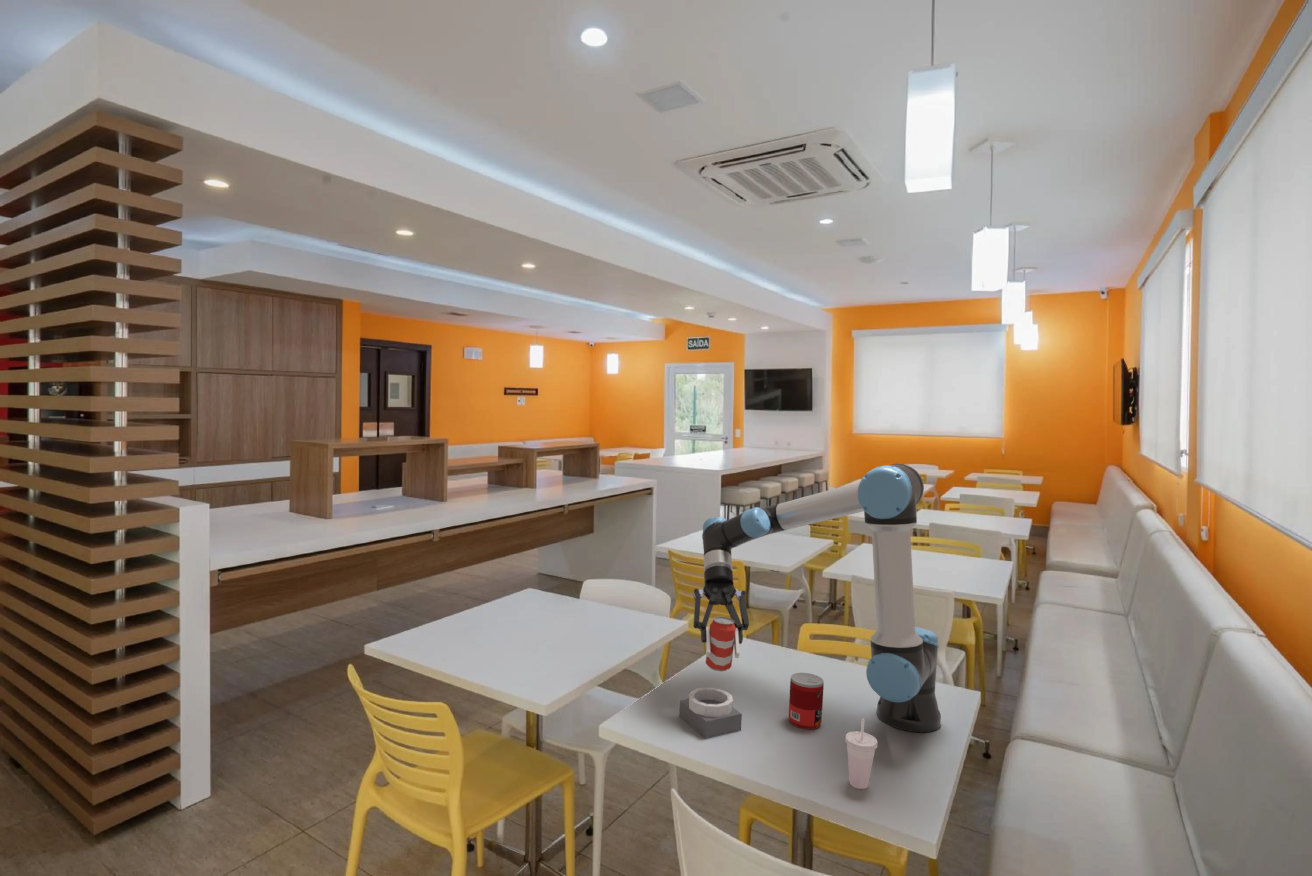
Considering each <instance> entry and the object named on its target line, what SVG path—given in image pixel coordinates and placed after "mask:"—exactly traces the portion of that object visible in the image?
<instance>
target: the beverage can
mask: <svg viewBox="0 0 1312 876" xmlns="http://www.w3.org/2000/svg"><path fill="white" fill-rule="evenodd" d="M709 630H710V656H709V657H706V656H705V657H706V658H705V664H706V665H707V667H709V668H710V669H711V670H713V671H715V672H716V671H717V672H726V671H727V670H730V668H732V663H733V657H734V640H735V632H736V627H735V625H734V621H733V620H732V619H731V617H730V618H729V617H726V616H714V617H713V618H712V622H711V623H710V625H709Z"/></svg>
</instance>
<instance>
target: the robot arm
mask: <svg viewBox="0 0 1312 876" xmlns="http://www.w3.org/2000/svg"><path fill="white" fill-rule="evenodd" d="M924 489H925V485H924V481H923V479H922V476H921V475H920V473H919V472H918V471H917V470H916V469H915V468H913V467H912V466H910V465H907V464H903V463H894V464H888V465H887V464H886V465H879V466H877V467H874V468H873V469H871V470H869V471H868V472H867V473H865V474H864V476H863V477H862V478H861V480H860V481H857V482H854V483H851V484H850V483H849V484H846V485H843V486H839V487H836V488H831V489H829V490H825V491H822V492H821V491H820V492H818V493H814V494H810V495H807V496H804V497H800V498H797V499H792V500H788V501H784V502H780V503H778V504H773V505H769V506H765V507H758V506H757V507H756V506H755V507H752V508H750V509H747V510H744V511H743V512H741V513H739V514H737V515H735V516H733V517H731V518H729V519H727V518H724V517H721V516H715V517H709V518H708V519H706V520H705V521H704V522H703V525H702V535H701V538H702V546H703V547H702V548H703V569H704V570H703V571H704V573H703V575H704V579H703V582H704V586H703V588H701V589H698V588H694V589H693V594H692V595H693V599H694V613H693V628H694V629H698V630H700V641H701V643H705V657H709V656H710V626H708V624H709V623H708V622H709V619H710V616H711V612H712V611H713V608H714V606H719V605H721V606H725V609H726V610H727V612H728V614H729V617H730V619H732V620H733V621H734V625H735V627H736V632H735V640H734V648H733V650H734V658H735V659H739V657H740V652H741V651H740V645H742V643H743V640H744V636H743V631H747V630H748V629H749V628H750V627H749V626H750V621H749V614H748V609H747V603H746V597H747V592H746V590H743V589H742V590H741V591H740V590H737V589H736V587H735V585H734V575H733V560H732V559H733V558H732V549H734V548H737V547H739V546H741V545H743V544H746V543H748V542H751V541H752V540H753V541H754V540H756V539H759V538H762V537H765V536H768V535H772V534H776V533H780V532H785V531H788V530H791V529H795V528H801V527H804V526H808V525H812V524H818V523H821V522H825V521H828V520H834V519H837V518H842V517H847V516H849V515H850V516H851V515H853V514H859V513H863V512H864V513H863V514H864V515H863V516H864V517H863V518H864V524H865V526H867V527H868V528H869V529H870V530H871V534H872V536H871V538H872V539H871V540H872V541H871V542H872V543H871V544H872V557H873V558H872V559H873V561H872V562H873V578H874V579H873V581H874V583H873V584H874V600H875V601H874V602H875V603H874V604H875V623H876V631H875V632H873V633H872V635H871V636H870V653H871V655H870V659H869V660H868V662H867V666H866V673H865V674H866V679H867V683H868V685H869V686H870V688H871V689H872V690H873V692H875V693H876V694H877V695H878V696H879V699H878V701H877V706H876V714H877V717H878V718H879V719H880V720H881V721H882V722H884V723H886V724H888V725H889V726H892V727H894V728H897V729H900V730H902V731H903V730H904V731H908V732H913V733H914V732H915V733H928V732H934V731H936V730H938V729H939V728H940V727H941V720H942V715H941V712H940V710H939V704H938V700H937V697H936V679H937V664H938V650H939V648H940V647H939V646H940V645H939V636H938V635H937V634H936V633H935V632H933V631H931V630H929V629H926V628H923V627H918V626H916V621H915V620H916V617H915V599H914V581H913V576H914V575H913V558H912V556H913V555H912V538H911V537H912V536H911V530H912V529H913V528H914V526H916V525H917V524H918V521H917V520H918V518H917V516H918V515H917V505H918V504H919V503H920V501H921V499H922V498H923V496H924V491H925V490H924ZM703 595H704V596H705V597H706V599H707V600H708V603H707V607H706V610H705V613H704V616H703V619H702V621H700V613H701V599H702V598H703ZM734 597H735V598H736V600H737V601H738V607H739V612H740V617H739V615H738V612H737V610H736V608H735V605H734V602H733V598H734ZM740 619H741V620H740Z"/></svg>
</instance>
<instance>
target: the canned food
mask: <svg viewBox="0 0 1312 876" xmlns="http://www.w3.org/2000/svg"><path fill="white" fill-rule="evenodd" d="M824 690H825V689H824V679H823V678H822V677H821V676H819V675H816V674H814V673H809V672H795V673H793V674H791V675H790V682H789V697H788V698H789V700H788V701H789V703H788V720H789V722H790V724H792V726H794V727H797V728H800V729H804V730H814V729H818V728H820V726H821V724H822V718H823V706H824V705H823V703H824V701H823V700H824Z"/></svg>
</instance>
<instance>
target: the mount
mask: <svg viewBox="0 0 1312 876" xmlns="http://www.w3.org/2000/svg"><path fill="white" fill-rule="evenodd" d="M733 704H734V698H733V695H732V694H731V693H729V692H727V691H726V690H722V689H720V688H717V687H700V688H696V689H695V688H694V689H693V690H692V691H690V692H689V694H688V698H685V699H681V700H679V714H678V715H679V717H680V718H681V719H682V720H683V721H684V722H685V723H687V724H688V725H689V726H690V727H692V728H693V729H694V730H695V731H696V732H697V731H698V732H697V733H698V734H700V735H701V736H702V735H703V736H704V737H703V736H702V737H703V738H705V739H708V738H707V737H710V738H714V737H717V735H718V736H721V735H720V734H722V735H726V734H725V733H727V734H730V732H731V733H734V732H739V731H742V716H743V714H742V712H740V711H739V710H737V709H736V708H735V707H733V706H734V705H733ZM713 736H714V737H713Z"/></svg>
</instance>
